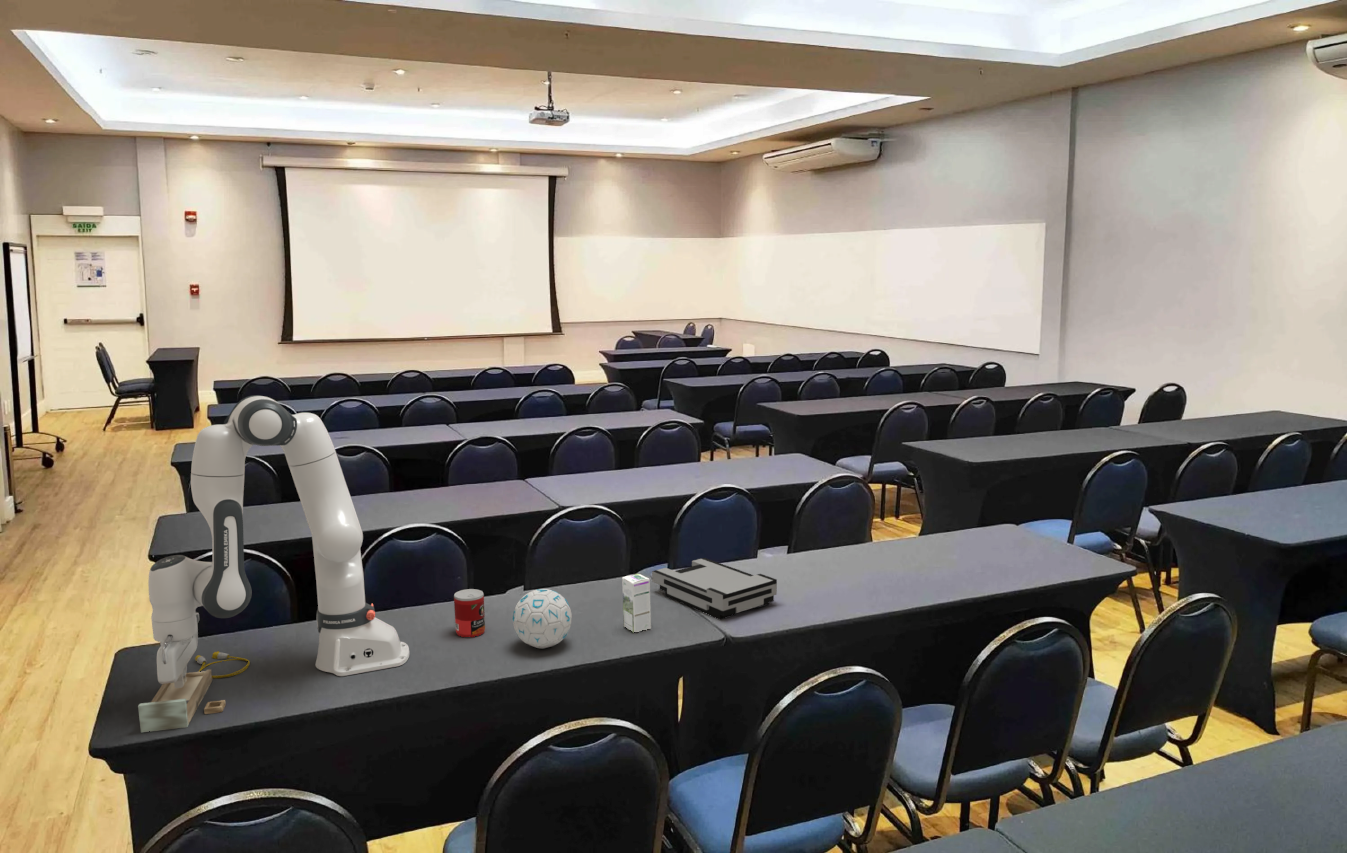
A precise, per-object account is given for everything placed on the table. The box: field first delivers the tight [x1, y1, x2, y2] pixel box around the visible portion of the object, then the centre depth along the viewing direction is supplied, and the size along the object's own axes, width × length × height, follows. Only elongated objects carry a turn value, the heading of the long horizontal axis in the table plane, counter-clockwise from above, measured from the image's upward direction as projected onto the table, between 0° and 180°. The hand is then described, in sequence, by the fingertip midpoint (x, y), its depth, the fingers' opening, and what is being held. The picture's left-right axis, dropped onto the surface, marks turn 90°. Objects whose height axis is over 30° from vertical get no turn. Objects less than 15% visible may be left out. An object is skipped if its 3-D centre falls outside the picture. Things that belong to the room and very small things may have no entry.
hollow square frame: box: [203, 699, 227, 715], centre depth 209 cm, size 4×4×1 cm
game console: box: [651, 557, 778, 620], centre depth 276 cm, size 21×32×8 cm, turn 39°
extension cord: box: [194, 650, 251, 679], centre depth 232 cm, size 12×16×2 cm
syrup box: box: [621, 573, 652, 634], centre depth 253 cm, size 6×6×14 cm
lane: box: [137, 668, 213, 733], centre depth 211 cm, size 9×24×6 cm, turn 14°
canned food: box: [453, 588, 486, 638], centre depth 251 cm, size 8×8×11 cm
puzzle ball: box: [512, 588, 573, 649], centre depth 242 cm, size 15×15×15 cm
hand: (180, 685), depth 214 cm, fingers closed
